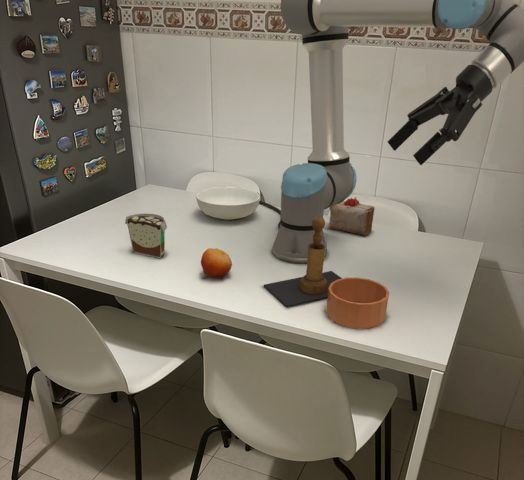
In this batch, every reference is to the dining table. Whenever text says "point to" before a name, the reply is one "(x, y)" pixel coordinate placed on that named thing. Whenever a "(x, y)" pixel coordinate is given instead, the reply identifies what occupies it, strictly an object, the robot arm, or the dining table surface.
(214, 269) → the fruit
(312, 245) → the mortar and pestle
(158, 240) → the food container
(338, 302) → the copper pot
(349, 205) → the food item
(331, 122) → the robot arm
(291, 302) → the rubber mat
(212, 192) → the serving bowl
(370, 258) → the dining table surface
